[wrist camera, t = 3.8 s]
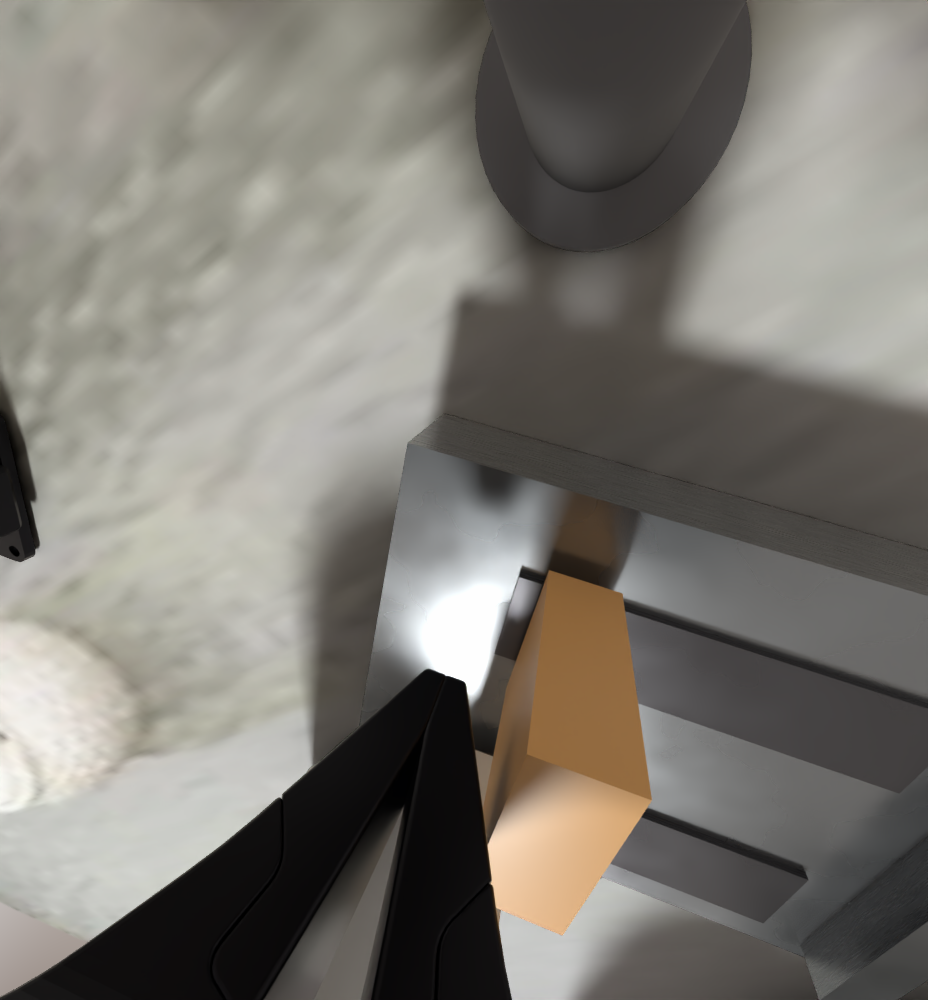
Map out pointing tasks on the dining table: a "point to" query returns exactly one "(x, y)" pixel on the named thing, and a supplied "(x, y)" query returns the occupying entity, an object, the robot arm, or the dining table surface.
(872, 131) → the dining table surface
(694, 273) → the dining table surface
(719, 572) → the breaker block
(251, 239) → the dining table surface
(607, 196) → the rubber post
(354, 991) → the can
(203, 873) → the robot arm
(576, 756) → the slider
